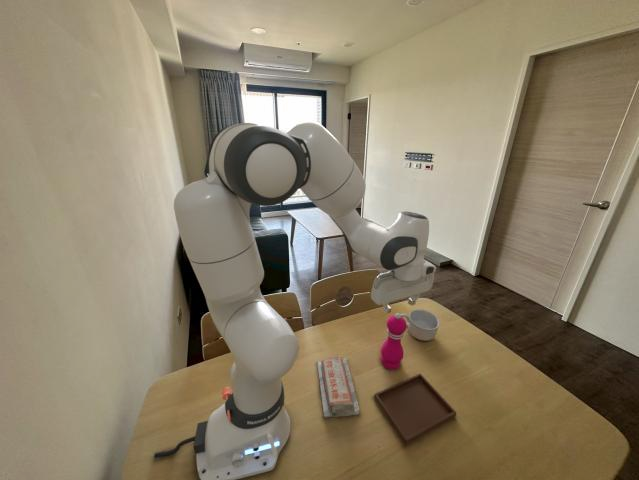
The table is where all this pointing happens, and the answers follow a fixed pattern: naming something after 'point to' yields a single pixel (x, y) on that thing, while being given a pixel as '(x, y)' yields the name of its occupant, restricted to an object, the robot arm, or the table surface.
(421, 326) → the teacup
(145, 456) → the table surface
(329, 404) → the packaged product
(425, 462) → the table surface
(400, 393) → the tray
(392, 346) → the pepper mill
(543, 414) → the table surface
